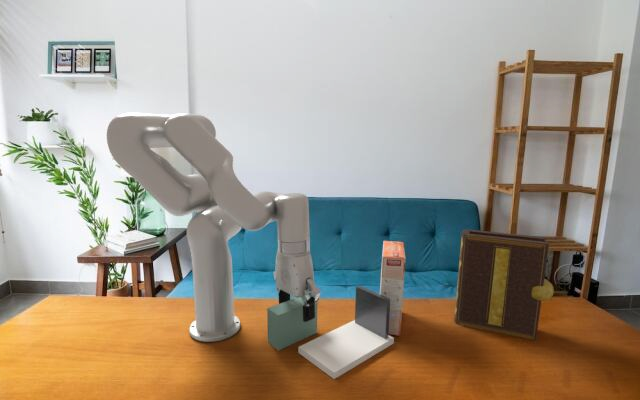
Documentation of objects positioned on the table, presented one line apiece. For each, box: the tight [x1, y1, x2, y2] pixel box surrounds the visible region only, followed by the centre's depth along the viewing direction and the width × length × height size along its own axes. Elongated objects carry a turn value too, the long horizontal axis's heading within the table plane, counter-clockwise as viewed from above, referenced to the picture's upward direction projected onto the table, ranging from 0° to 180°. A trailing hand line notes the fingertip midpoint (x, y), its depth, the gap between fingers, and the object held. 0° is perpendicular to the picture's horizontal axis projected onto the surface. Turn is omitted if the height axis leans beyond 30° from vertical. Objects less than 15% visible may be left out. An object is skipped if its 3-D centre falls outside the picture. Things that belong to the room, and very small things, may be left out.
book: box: [453, 229, 555, 341], centre depth 93 cm, size 22×8×25 cm, turn 68°
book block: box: [266, 295, 319, 351], centre depth 89 cm, size 4×12×9 cm, turn 131°
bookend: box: [354, 285, 390, 339], centre depth 90 cm, size 10×1×10 cm, turn 41°
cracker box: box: [379, 240, 406, 337], centre depth 96 cm, size 14×6×21 cm, turn 169°
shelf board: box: [297, 319, 395, 380], centre depth 85 cm, size 12×20×2 cm, turn 131°
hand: (296, 312), depth 89 cm, fingers open, 9 cm apart
